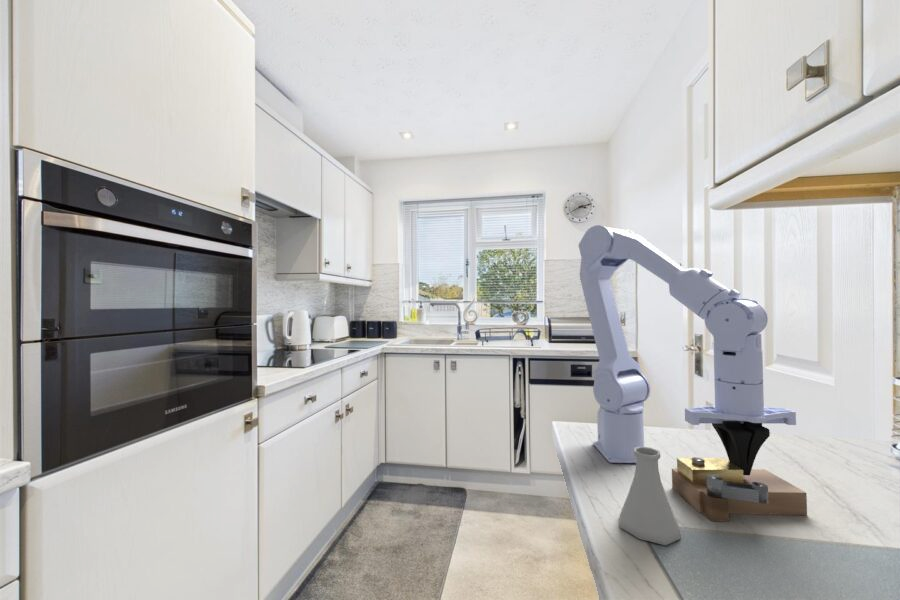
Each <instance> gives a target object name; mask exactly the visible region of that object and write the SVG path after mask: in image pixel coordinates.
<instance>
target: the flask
mask: <svg viewBox="0 0 900 600" xmlns="http://www.w3.org/2000/svg"><path fill="white" fill-rule="evenodd" d="M634 455H635V456H636V463H635V470H634V474H633V475H634V476H633V479H632V482H631V485H630V488H629V490H628V493H627V495H626V498H625V499H624V500H625V501H624V503H623V506H622V507H621V511H620V513H619V519H618V520H619V521H618V522H619V523H618V527H619V528H621V529H623V531H625V532H627V533H629V534H631V535H632V536H634V537H635V538H637V539H638V540H642V541H647V542H651V543H654V544H659V545H662V546H667V545H669V544H672V543H674V542H676V541H678V540H680V539H682V538H681V532H680V528H679V523H678V522H677V521H678V520H677V519H676V516H675V514H674V511H673V509H672V506H671V503H670V501H669V499H668V496H667V492H666V491H665V489H664V485H663V483H662V480H661V479H662V478H661V474H660V471H659V460H660V459H661V451H660V450H659V449H656V448H653V447H649V446H644V447H643V446H639V447H635V448H634Z"/></svg>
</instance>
